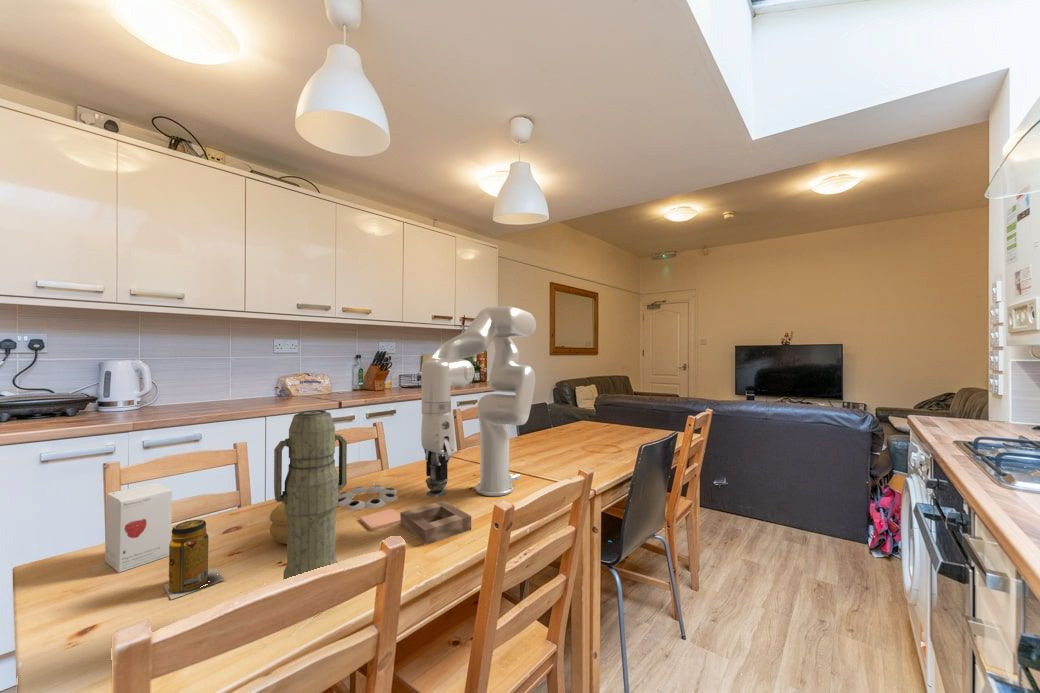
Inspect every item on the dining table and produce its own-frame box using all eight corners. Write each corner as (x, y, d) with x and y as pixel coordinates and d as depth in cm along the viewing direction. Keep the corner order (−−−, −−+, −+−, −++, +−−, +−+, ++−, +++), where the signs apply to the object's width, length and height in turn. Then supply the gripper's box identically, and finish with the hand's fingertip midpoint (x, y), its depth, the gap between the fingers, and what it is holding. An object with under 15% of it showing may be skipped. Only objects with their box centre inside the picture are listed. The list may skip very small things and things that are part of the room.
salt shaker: (443, 498, 104) (442, 451, 104) (421, 496, 105) (421, 450, 105) (451, 490, 110) (451, 445, 110) (431, 488, 111) (430, 444, 111)
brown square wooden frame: (443, 512, 117) (443, 500, 117) (471, 529, 106) (471, 516, 106) (400, 525, 108) (400, 512, 108) (425, 545, 98) (425, 530, 98)
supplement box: (117, 574, 85) (118, 501, 85) (103, 562, 89) (104, 493, 89) (172, 555, 92) (173, 488, 92) (157, 545, 97) (157, 481, 97)
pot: (330, 540, 100) (330, 499, 100) (274, 556, 92) (275, 511, 92) (316, 524, 109) (316, 486, 109) (264, 537, 101) (265, 497, 101)
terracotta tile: (391, 511, 118) (391, 508, 118) (405, 521, 111) (405, 518, 111) (359, 520, 112) (359, 517, 112) (371, 531, 105) (371, 528, 105)
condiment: (163, 586, 81) (163, 524, 81) (215, 568, 87) (215, 511, 87) (171, 600, 76) (171, 535, 76) (225, 581, 82) (226, 521, 82)
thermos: (354, 599, 76) (355, 411, 77) (284, 631, 68) (285, 418, 68) (333, 580, 82) (335, 406, 83) (267, 608, 74) (268, 413, 74)
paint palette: (342, 517, 115) (342, 510, 115) (324, 497, 130) (324, 491, 130) (409, 501, 127) (409, 494, 127) (385, 484, 142) (385, 479, 142)
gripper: (466, 410, 104) (466, 482, 104) (433, 402, 116) (434, 467, 117) (439, 413, 99) (440, 489, 99) (408, 405, 111) (409, 472, 112)
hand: (436, 476), depth 108 cm, fingers closed on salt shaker, 4 cm apart
